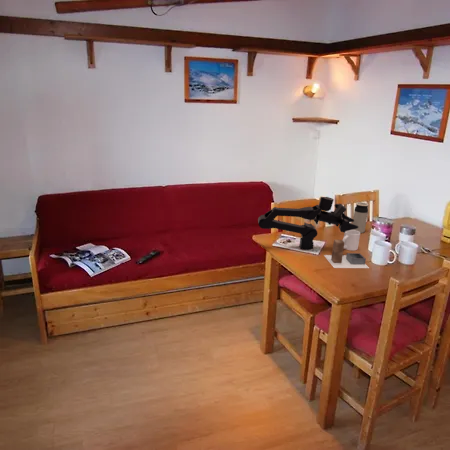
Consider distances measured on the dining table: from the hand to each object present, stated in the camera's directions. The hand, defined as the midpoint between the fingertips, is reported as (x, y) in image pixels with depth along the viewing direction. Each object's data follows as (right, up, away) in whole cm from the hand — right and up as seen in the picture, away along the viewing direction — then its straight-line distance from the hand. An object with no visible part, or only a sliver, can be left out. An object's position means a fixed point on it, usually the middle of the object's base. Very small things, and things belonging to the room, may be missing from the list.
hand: (356, 223), depth 216 cm
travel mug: (+14, -5, +40) cm, 43 cm away
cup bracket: (-4, -20, -9) cm, 22 cm away
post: (-13, -19, -11) cm, 26 cm away
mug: (-2, -15, +8) cm, 17 cm away
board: (-9, -20, -10) cm, 24 cm away
